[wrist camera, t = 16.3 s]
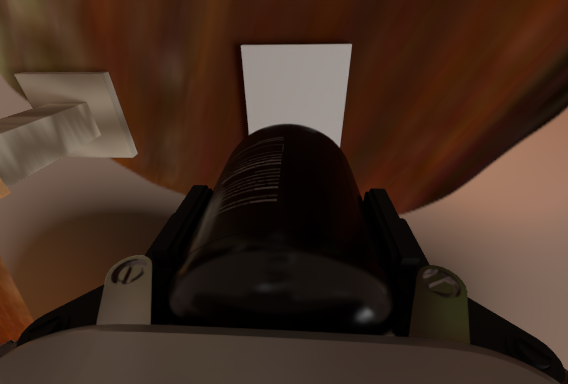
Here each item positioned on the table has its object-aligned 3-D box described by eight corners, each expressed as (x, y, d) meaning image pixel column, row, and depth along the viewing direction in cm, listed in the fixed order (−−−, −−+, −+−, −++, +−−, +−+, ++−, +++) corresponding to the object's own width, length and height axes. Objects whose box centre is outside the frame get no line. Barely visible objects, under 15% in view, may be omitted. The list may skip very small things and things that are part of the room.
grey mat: (242, 44, 26) (240, 45, 25) (350, 43, 26) (352, 44, 25) (251, 144, 32) (250, 147, 31) (338, 145, 32) (339, 148, 31)
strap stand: (23, 72, 29) (-157, 104, 17) (108, 71, 28) (-21, 104, 17) (66, 152, 34) (-50, 216, 23) (137, 153, 34) (55, 219, 22)
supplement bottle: (230, 219, 16) (118, 535, 6) (225, 112, 12) (-85, 482, 2) (337, 230, 16) (397, 563, 6) (365, 126, 12) (636, 554, 2)
